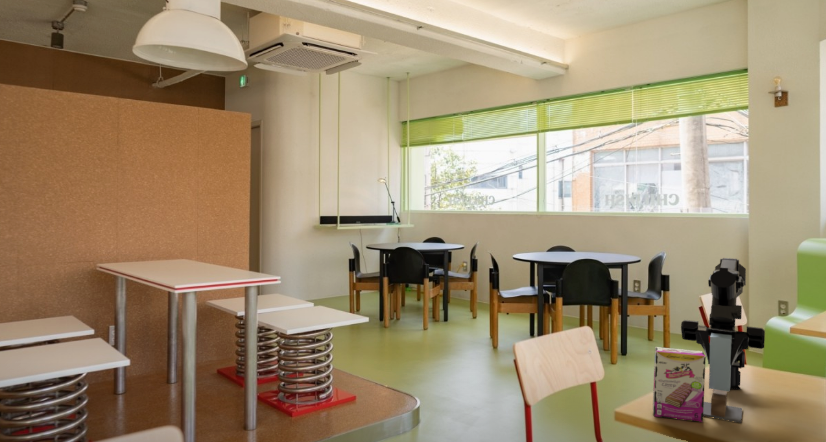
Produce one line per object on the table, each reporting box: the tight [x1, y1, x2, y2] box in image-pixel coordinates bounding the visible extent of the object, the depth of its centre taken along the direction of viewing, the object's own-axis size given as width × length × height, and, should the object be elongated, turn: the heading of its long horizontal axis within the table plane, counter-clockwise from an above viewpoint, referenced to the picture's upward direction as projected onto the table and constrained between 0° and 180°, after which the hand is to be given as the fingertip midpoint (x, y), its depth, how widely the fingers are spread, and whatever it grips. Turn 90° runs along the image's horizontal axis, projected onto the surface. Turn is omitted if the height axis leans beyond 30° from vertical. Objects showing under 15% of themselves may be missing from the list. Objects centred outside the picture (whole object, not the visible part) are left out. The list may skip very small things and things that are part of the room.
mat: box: [703, 401, 743, 424], centre depth 145 cm, size 10×10×1 cm
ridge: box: [710, 389, 728, 417], centre depth 145 cm, size 3×9×4 cm, turn 149°
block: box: [708, 333, 732, 392], centre depth 144 cm, size 4×4×13 cm
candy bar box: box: [652, 346, 707, 423], centre depth 141 cm, size 11×5×16 cm, turn 71°
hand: (720, 362), depth 143 cm, fingers closed on block, 4 cm apart
